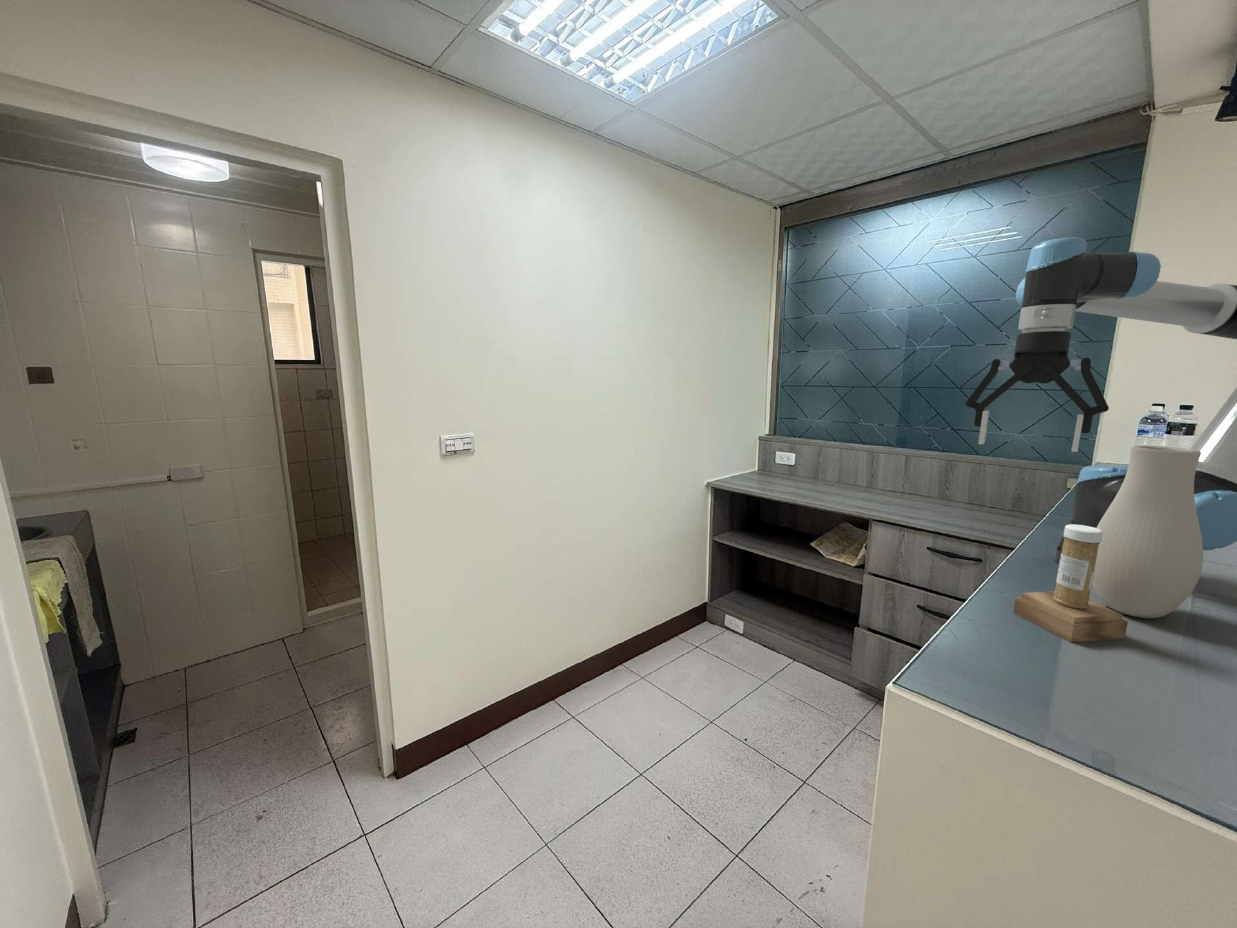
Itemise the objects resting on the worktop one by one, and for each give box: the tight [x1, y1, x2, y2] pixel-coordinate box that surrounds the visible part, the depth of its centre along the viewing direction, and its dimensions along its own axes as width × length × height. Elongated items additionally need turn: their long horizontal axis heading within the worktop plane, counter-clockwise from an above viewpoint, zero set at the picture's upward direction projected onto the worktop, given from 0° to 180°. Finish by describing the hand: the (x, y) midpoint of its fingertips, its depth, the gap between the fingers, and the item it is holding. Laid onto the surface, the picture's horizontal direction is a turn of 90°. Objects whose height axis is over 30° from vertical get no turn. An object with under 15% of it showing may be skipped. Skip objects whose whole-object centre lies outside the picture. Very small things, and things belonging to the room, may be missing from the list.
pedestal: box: [1013, 590, 1129, 643], centre depth 83 cm, size 10×10×4 cm
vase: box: [1092, 444, 1204, 619], centre depth 86 cm, size 14×14×30 cm
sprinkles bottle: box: [1053, 523, 1103, 609], centre depth 82 cm, size 5×5×14 cm
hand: (1025, 447), depth 92 cm, fingers open, 13 cm apart
